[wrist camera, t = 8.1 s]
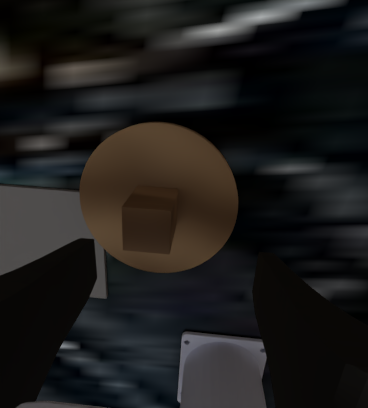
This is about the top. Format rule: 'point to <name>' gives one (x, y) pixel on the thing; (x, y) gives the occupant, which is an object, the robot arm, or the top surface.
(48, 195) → the mat
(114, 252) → the lid
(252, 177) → the top surface
